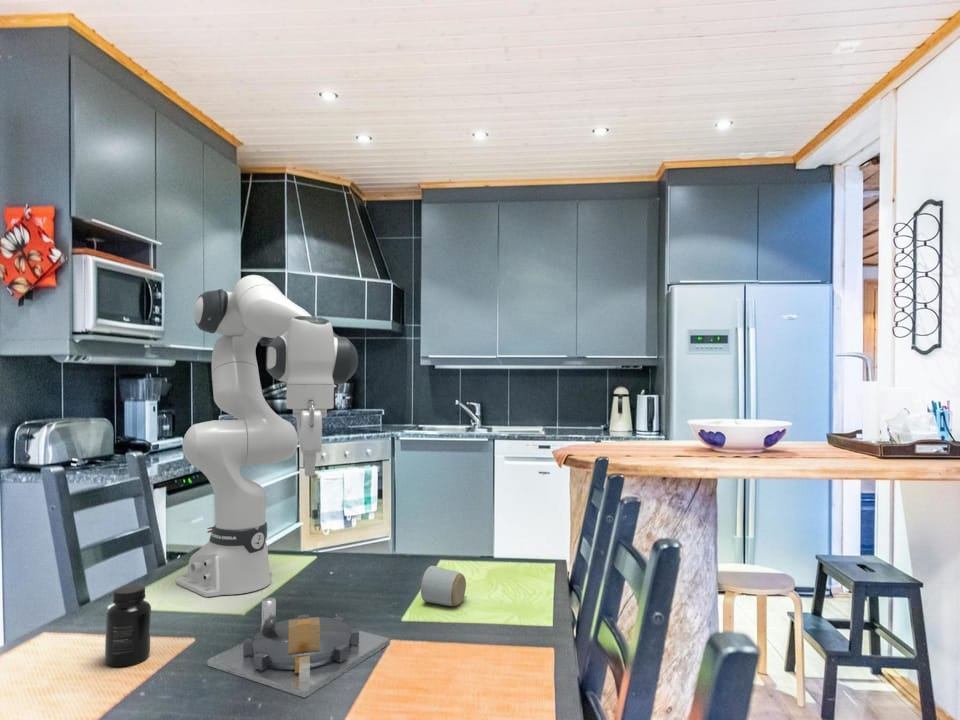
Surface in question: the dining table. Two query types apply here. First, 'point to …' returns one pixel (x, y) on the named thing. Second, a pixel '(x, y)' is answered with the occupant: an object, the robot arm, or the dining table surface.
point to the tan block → (303, 636)
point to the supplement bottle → (128, 627)
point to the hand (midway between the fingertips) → (308, 471)
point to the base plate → (289, 675)
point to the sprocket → (273, 641)
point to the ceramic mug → (443, 586)
